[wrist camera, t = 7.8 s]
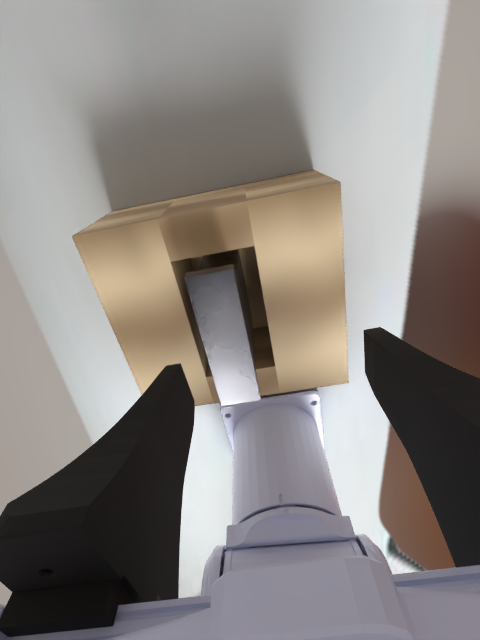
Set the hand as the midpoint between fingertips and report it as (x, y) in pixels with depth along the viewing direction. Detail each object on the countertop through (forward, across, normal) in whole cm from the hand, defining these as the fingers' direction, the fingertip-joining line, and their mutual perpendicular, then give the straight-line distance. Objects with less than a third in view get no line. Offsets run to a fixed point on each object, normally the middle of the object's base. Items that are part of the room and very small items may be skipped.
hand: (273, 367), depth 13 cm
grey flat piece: (+9, +2, 0) cm, 9 cm away
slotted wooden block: (+10, +2, 0) cm, 10 cm away
